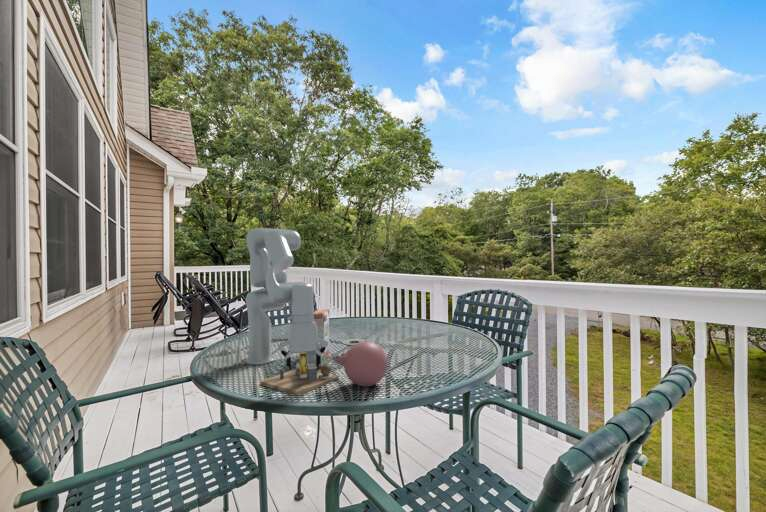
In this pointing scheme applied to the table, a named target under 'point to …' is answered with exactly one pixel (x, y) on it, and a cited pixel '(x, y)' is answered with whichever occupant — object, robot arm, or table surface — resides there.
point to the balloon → (363, 363)
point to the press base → (299, 380)
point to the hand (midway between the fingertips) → (303, 367)
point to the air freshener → (312, 357)
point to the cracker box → (322, 327)
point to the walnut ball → (325, 369)
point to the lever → (302, 365)
